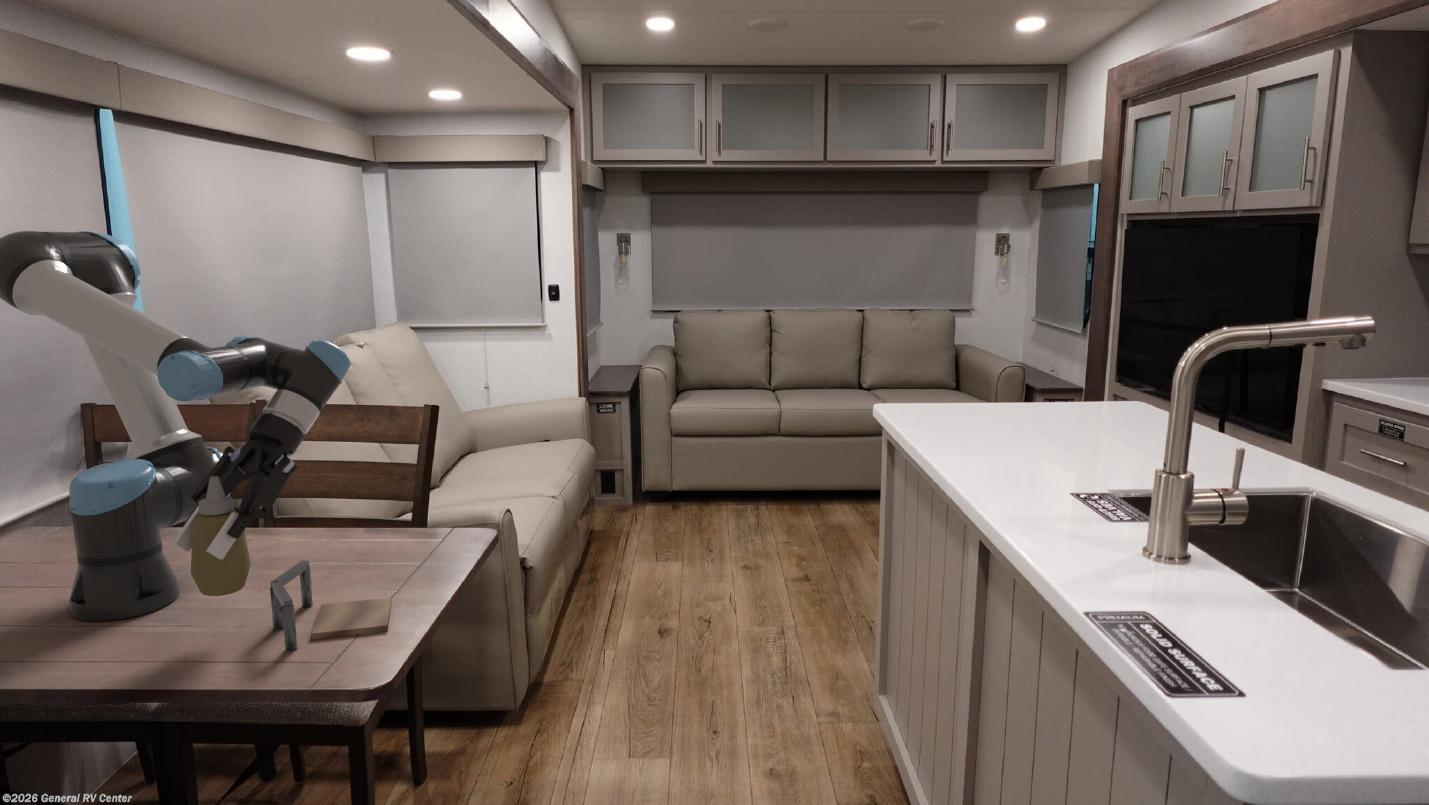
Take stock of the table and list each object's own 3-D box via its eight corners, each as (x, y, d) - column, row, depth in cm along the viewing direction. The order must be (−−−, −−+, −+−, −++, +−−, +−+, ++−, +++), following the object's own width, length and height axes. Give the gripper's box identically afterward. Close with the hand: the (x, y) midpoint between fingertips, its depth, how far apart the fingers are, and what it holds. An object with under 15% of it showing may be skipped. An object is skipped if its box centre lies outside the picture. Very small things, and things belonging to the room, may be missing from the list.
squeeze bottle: (264, 585, 131) (257, 475, 128) (215, 605, 124) (206, 488, 120) (229, 575, 134) (221, 467, 131) (180, 593, 127) (170, 479, 124)
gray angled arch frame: (262, 654, 125) (258, 605, 123) (283, 606, 141) (279, 561, 140) (296, 650, 126) (292, 601, 125) (313, 603, 142) (310, 559, 141)
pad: (311, 639, 130) (311, 633, 129) (321, 610, 140) (321, 604, 140) (387, 631, 133) (387, 625, 133) (391, 603, 143) (391, 597, 143)
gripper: (342, 444, 136) (261, 574, 124) (255, 429, 143) (171, 551, 131) (314, 418, 130) (225, 551, 118) (225, 404, 137) (133, 529, 125)
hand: (197, 551), depth 124 cm, fingers closed on squeeze bottle, 6 cm apart
